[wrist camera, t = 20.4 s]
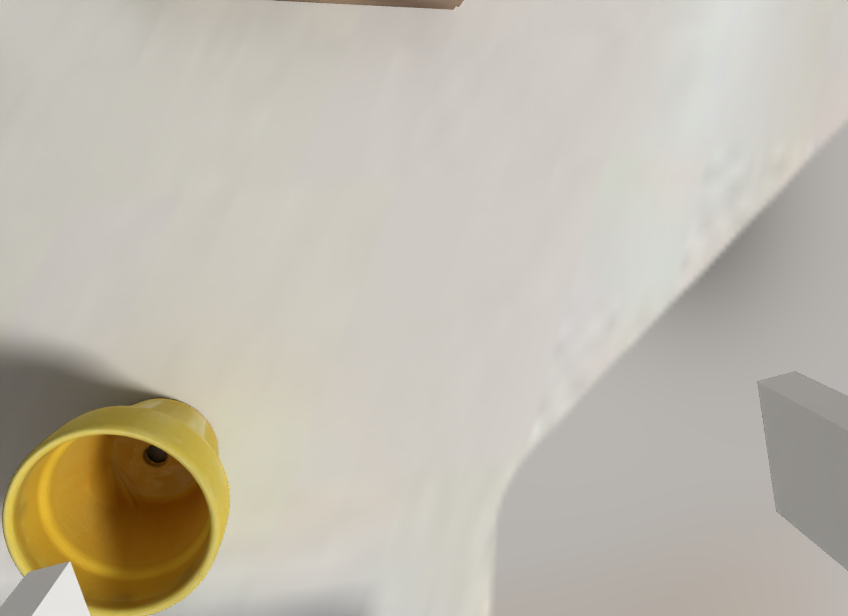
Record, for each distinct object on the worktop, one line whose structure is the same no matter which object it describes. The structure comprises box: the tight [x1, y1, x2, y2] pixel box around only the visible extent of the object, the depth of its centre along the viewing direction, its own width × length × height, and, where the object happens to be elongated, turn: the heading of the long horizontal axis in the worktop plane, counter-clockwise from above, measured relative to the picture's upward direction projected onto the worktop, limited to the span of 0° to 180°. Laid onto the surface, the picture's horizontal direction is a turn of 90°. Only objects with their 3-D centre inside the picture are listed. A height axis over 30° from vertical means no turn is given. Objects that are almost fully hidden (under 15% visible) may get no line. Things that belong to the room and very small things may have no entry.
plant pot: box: [2, 398, 230, 616], centre depth 41 cm, size 10×10×10 cm
